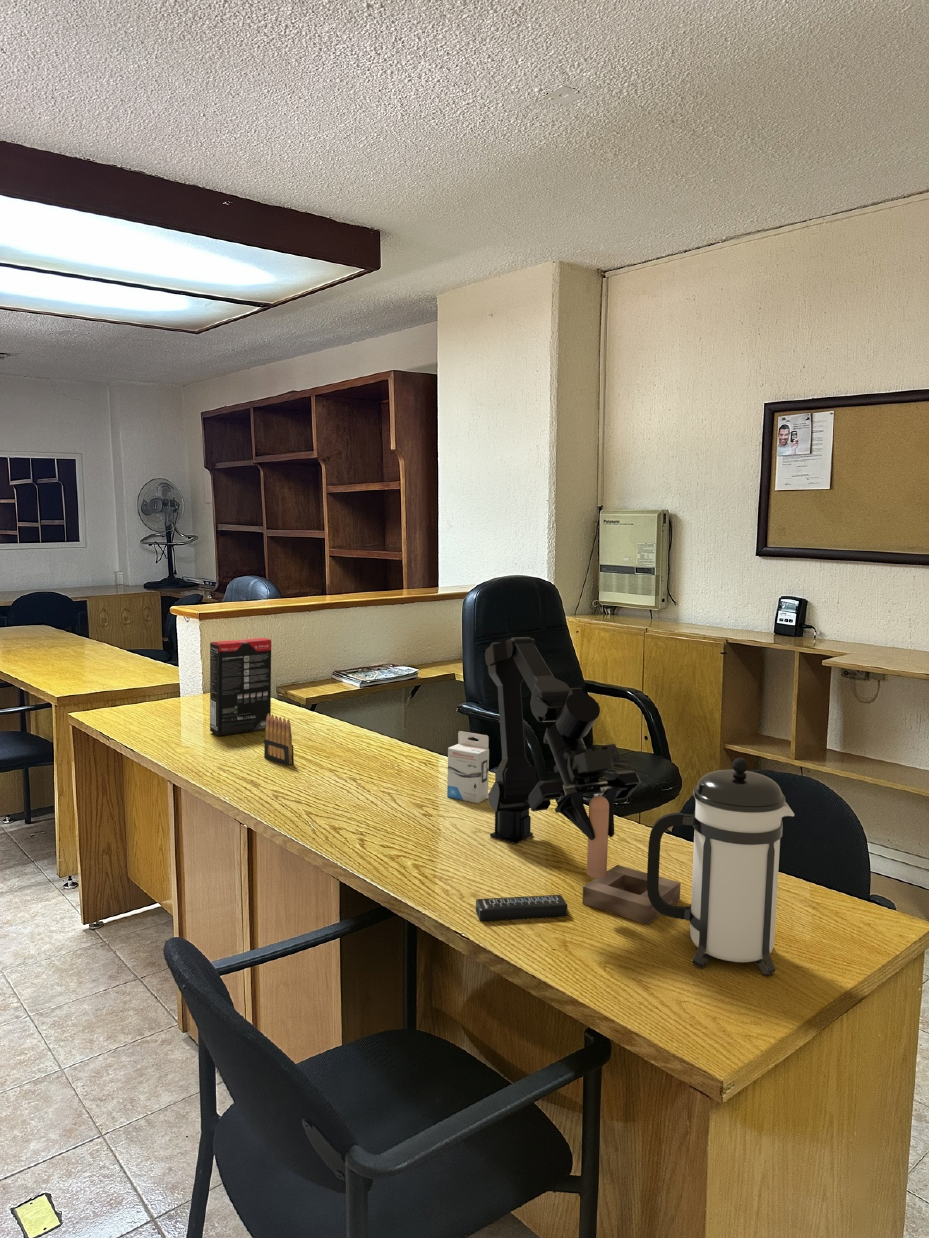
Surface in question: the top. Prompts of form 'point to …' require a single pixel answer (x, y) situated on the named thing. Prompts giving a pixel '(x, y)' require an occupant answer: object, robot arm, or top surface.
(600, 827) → the terracotta dowel
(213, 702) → the graphics card box
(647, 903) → the brown square frame
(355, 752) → the top surface
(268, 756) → the ammunition clip
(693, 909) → the coffee press
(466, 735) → the ink box
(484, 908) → the multiport hub
